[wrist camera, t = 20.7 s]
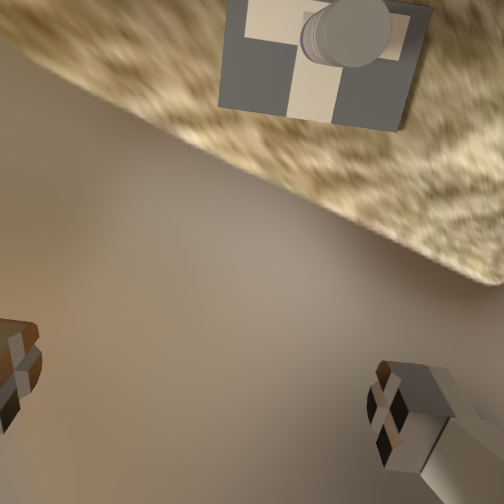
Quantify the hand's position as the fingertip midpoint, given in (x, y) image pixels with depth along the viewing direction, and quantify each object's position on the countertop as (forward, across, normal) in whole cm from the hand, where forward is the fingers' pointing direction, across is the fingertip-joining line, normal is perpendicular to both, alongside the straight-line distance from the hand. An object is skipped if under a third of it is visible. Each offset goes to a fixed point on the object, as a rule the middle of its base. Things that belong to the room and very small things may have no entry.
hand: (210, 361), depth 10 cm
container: (+38, -7, -9) cm, 40 cm away
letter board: (+39, -7, -7) cm, 40 cm away
